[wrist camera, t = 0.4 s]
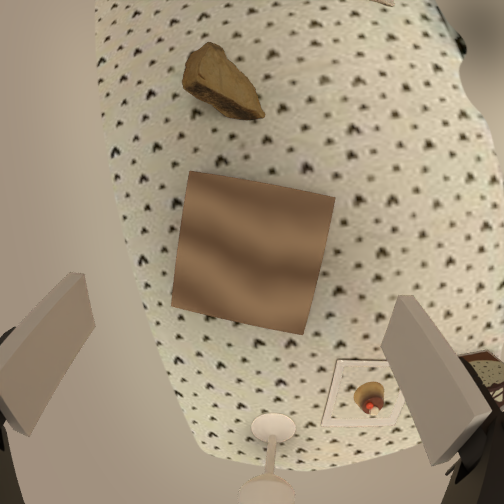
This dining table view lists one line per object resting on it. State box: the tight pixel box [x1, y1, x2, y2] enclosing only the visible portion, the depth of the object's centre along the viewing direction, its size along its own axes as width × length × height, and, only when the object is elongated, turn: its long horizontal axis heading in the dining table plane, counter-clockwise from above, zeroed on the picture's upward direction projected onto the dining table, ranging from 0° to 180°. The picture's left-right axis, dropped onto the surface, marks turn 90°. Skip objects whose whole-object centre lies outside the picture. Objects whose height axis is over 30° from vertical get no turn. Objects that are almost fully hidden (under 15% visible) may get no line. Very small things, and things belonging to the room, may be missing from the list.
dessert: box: [321, 360, 405, 427], centre depth 36 cm, size 12×12×5 cm
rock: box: [182, 42, 265, 120], centre depth 29 cm, size 11×9×10 cm
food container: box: [457, 350, 504, 411], centre depth 31 cm, size 12×6×10 cm, turn 92°
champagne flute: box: [238, 413, 296, 504], centre depth 29 cm, size 7×7×24 cm
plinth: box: [171, 171, 335, 335], centre depth 34 cm, size 15×15×4 cm
